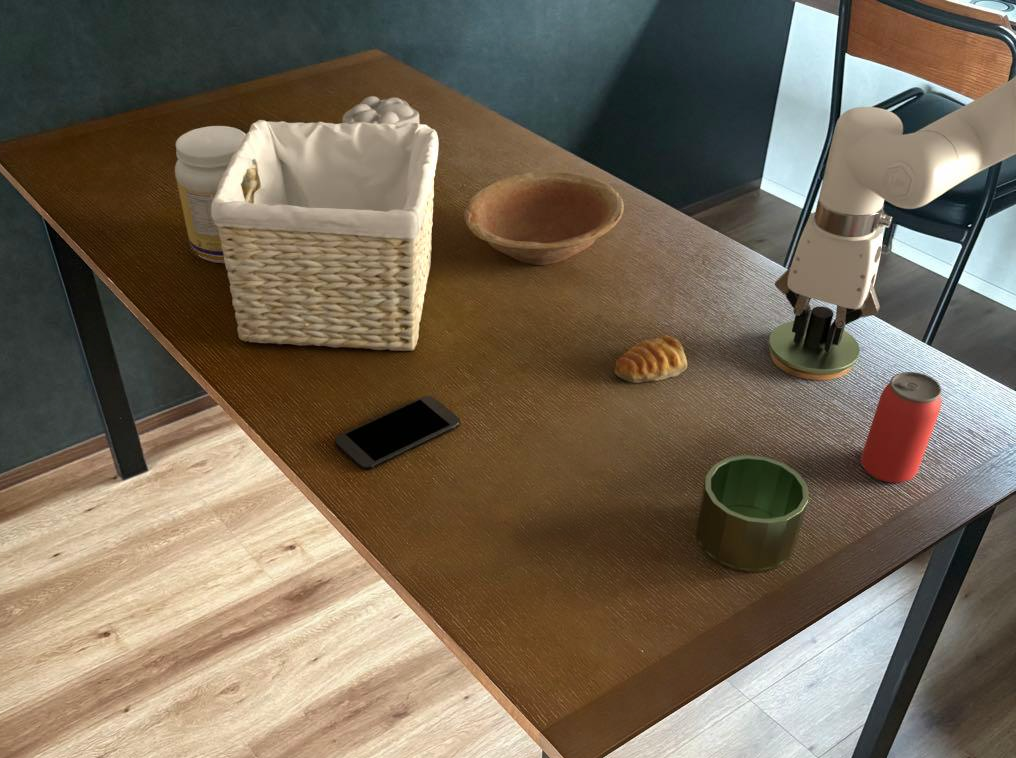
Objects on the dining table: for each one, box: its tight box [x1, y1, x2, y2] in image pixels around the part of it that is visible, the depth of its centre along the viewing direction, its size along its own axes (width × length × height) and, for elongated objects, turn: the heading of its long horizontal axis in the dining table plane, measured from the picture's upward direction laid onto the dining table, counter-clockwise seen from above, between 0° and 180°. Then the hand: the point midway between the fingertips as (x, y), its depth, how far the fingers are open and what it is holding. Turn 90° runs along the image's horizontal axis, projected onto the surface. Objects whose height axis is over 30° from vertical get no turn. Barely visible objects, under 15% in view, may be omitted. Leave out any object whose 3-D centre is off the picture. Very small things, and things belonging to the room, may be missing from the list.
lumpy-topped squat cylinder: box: [341, 95, 421, 127], centre depth 188 cm, size 10×13×9 cm
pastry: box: [614, 334, 688, 384], centre depth 142 cm, size 9×7×4 cm
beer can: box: [860, 371, 943, 484], centre depth 125 cm, size 7×7×12 cm
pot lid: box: [768, 305, 861, 374], centre depth 143 cm, size 12×12×6 cm
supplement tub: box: [174, 125, 249, 264], centre depth 162 cm, size 12×12×17 cm
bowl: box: [463, 171, 625, 266], centre depth 164 cm, size 24×24×8 cm
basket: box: [211, 119, 440, 352], centre depth 148 cm, size 27×27×22 cm
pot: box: [695, 454, 810, 573], centre depth 118 cm, size 11×11×8 cm
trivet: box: [769, 349, 853, 381], centre depth 145 cm, size 11×11×1 cm
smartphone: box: [333, 395, 461, 471], centre depth 134 cm, size 7×15×1 cm, turn 128°
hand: (814, 341), depth 144 cm, fingers open, 3 cm apart
